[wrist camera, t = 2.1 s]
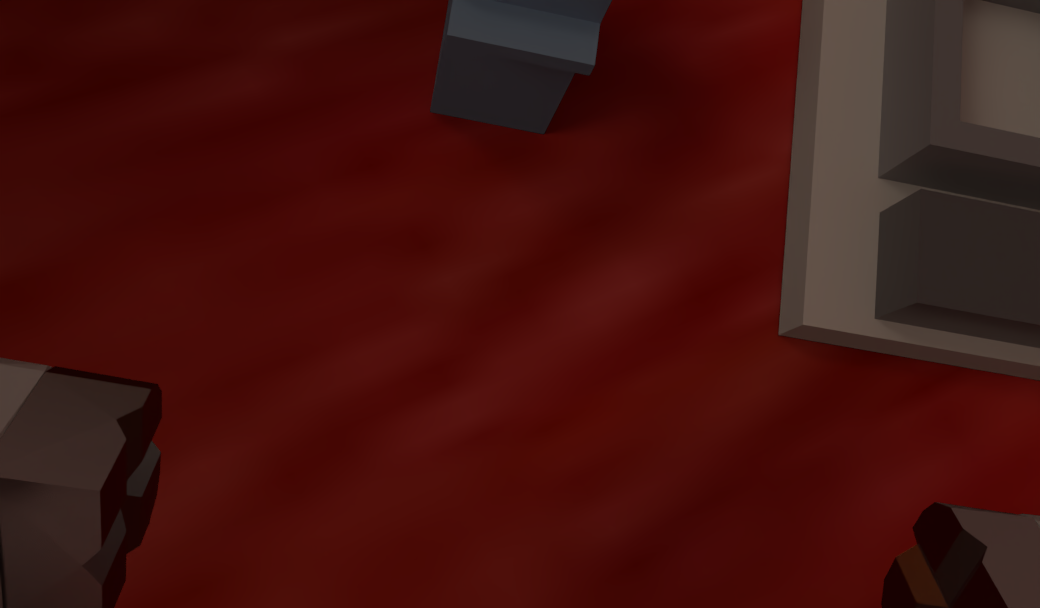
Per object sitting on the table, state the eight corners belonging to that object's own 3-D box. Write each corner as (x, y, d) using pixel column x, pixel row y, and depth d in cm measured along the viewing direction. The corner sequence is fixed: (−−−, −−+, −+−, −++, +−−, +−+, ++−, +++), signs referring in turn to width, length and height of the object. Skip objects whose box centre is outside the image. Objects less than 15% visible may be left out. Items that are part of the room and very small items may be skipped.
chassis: (1102, 391, 28) (1220, 371, 25) (778, 335, 27) (850, 304, 23) (1098, -87, 32) (1200, -170, 28) (814, -158, 31) (880, -254, 27)
